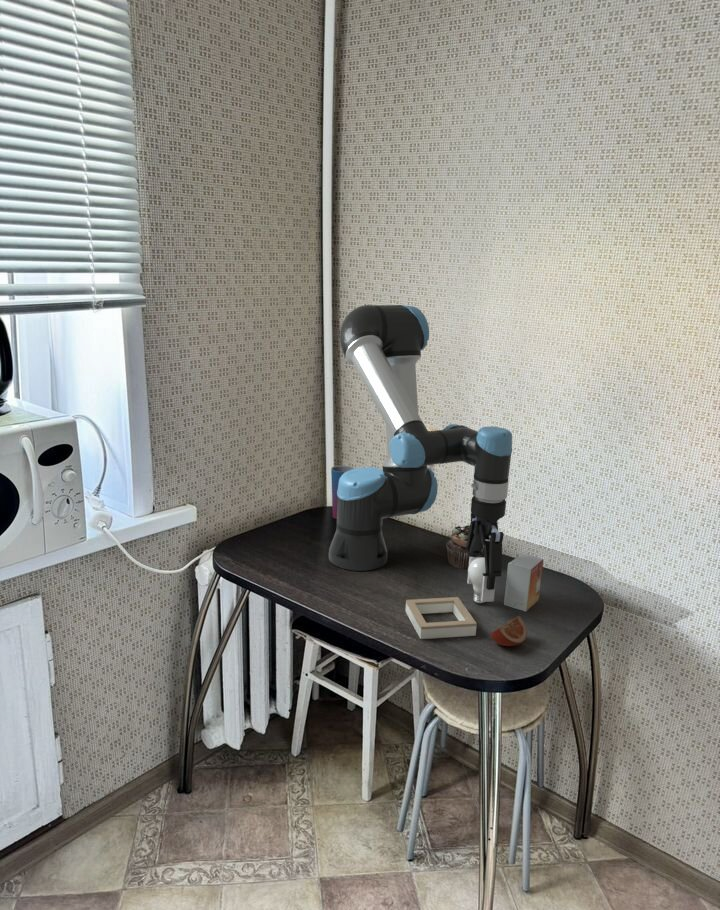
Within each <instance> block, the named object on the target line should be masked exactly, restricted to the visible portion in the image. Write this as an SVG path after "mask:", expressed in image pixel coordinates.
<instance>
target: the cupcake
mask: <svg viewBox="0 0 720 910" xmlns="http://www.w3.org/2000/svg"><path fill="white" fill-rule="evenodd" d="M469 528H470V524H468V525H465V526H460V525H459V526H455V527H454V528H452V529H451V534H450V536H449V540H447V541H446V543H445V545H446V551H447V562H448V564H449V565H451V566H453V567H455V568H457V569H460V570H461V569H462V570H463V569H464V570H468V567H469V558H470V556H469V550H467V549H466V545H467V540H468V534H469ZM482 553H484V546H483V548H482ZM480 556H481V557H482V555H479V556H478V557H480Z"/></svg>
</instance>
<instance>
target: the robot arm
mask: <svg viewBox="0 0 720 910" xmlns="http://www.w3.org/2000/svg"><path fill="white" fill-rule="evenodd" d="M339 331H340V332H339V344H340V348H341V351H342V354H343V355H344V357H345V360H346V361H347V363H349V364H351V365H353V366H354V367H355V369H356V370H357V373H358V375H359V377H360V379H361V380H362V383H364V384H363V385H364V386H365V387H366V389H367V392H368V394H369V395H370V397H371V399H372V401H373V403H374V404H375V406H376V408H377V410H378V412H379V414H380V415H381V417H382V419H383V421H384V423H385V431H386V433H385V435H386V451H387V458H386V459H385V461H384V462H383V463H382V469H381V468H377V467H372V466H368V467H365V466H364V467H355V468H354V469H352V470H349V471H347V472H345V473H344V474H343V475H342V476H341V477H340V479H339V484H338V490H337V496H338V501H337V519H336V530H335V533H334V535H333V537H332V541H331V542H330V546H329V549H328V560H329V562H330V563H331V564H332V565H334V566H336V567H338V568H341V569H344V570H348V571H356V572H358V571H359V572H360V571H361V572H362V571H371V570H372V571H373V570H376V569H380V568H382V567H383V566H385V565H386V564H387V562H388V549H387V546H386V542H385V538H384V535H383V520H384V519H389V518H395V517H400V516H407V515H416V514H419V513H422V512H426V511H428V510H430V509H431V508H432V506H433V505H434V504H435V502H436V499H437V496H438V490H439V489H438V487H439V486H438V480H437V477H436V476H435V472H434V471H433V470H432V469H430V468H428V466H433V465H443V464H449V463H458V462H463V463H465V464H468V465H470V466H473V467H474V472H473V482H472V483H471V485H470V486H471V488H472V495H473V496H472V497H471V501H470V502H471V504H470V524H469V526H470V528H469V534H468V540H467V545H466V549H467V550H469V556H470V558H469V565H470V563H471V562H472V561H473V560H474V559H476V558H480V557H482V556H483V555H484V558H485V571H486V573H482V574H483V585H482V595H481V601H482V602H484V603H485V602H486V603H487V602H489V603H490V602H494V601H495V592H496V591H495V590H496V584H497V583H496V581H497V577H502V572H503V571H502V568H503V541H504V532H503V531H499V524H498V523H499V522H498V521H499V520H500V519H502V518H503V517H505V516H506V507H507V500H506V499H507V497H508V490H509V482H510V480H509V476H510V469H511V462H512V461H511V460H512V459H511V458H512V453H513V434H512V431H510V430H509V429H507V428H504V427H498V426H483V427H481V428H479V429H478V431H477V430H475V429H472V428H470V427H468V426H465V425H462V424H454V423H451V424H448V425H447V426H445V427H444V428H442V429H439V430H438V429H437V430H428V428H427V426H426V425H425V424H424V422H423V419H422V418H421V416H420V415H419V406H418V405H419V404H418V403H419V402H418V387H417V369H416V367H417V365H416V364H417V362H419V360H420V359H421V357H422V352H421V351H422V350H424V349H425V348H426V347H427V346H428V341H429V340H430V327H429V323H428V320H427V317H426V315H425V314H424V313H423V312H422V311H421V309H419V308H418V307H416V306H414V305H406V304H391V305H390V304H389V305H388V304H387V305H386V304H385V305H384V304H383V305H382V304H380V305H379V304H377V305H375V304H374V305H373V304H366V305H360V306H358V307H356V308H354V309H352V310H351V311H350V312H349V313H347V315H346V316H345V318H344V320H343V322H342V324H341V327H340V330H339ZM483 547H484V548H483ZM482 548H483V552H482ZM483 553H484V554H483ZM479 555H481V556H480V557H478V556H479ZM466 582H467V584H468V585H473V583H472V581H471V580H470V578H469V575H468V574H467V581H466Z"/></svg>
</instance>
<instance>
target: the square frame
mask: <svg viewBox="0 0 720 910" xmlns="http://www.w3.org/2000/svg"><path fill="white" fill-rule="evenodd" d="M405 613H406V616H407V617H408V618H409V620H410V622H411V624H412V626H413V628H414V631H416V634H417V635H418V637H419V639H420V640H426V639H428V640H429V639H443V638H457V637H472V636H476V634H477V627H478V626H477V624H478V623H477V622H476V621H475V618H474V617H473V616H472V614H471V613H470V611H468V609H467V608H466V606H465V604H463V602H462V600H461V599H460V598H459V597H458V596H455V597H453V596H451V597H437V598H436V597H435V598H434V597H433V598H432V597H431V598H417V599H415V598H414V599H413V598H412V599H406V600H405ZM439 613H453V614H454V615H453V616H455V617H456V619H457V620H455V621H452V620H451V621H449V620H448V621H436V622H427V621H426V620H425V618H424V617H423V615H424V614H439ZM422 614H423V615H422Z"/></svg>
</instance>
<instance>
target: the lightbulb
mask: <svg viewBox="0 0 720 910" xmlns="http://www.w3.org/2000/svg"><path fill="white" fill-rule="evenodd" d="M482 573H486V571H485V556H484V557H483V556H481V557H480V558H476V559H474V560H473V561H472V562H471V563H470V565H469V567H468V569H467V576H468V575H469V578H470V580H471V581H472V583H473V584H472V589H473V601H474V602H475V604H479V605H480V604H484V603H485V602H482V601H481V595H482V585H483V574H482Z"/></svg>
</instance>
